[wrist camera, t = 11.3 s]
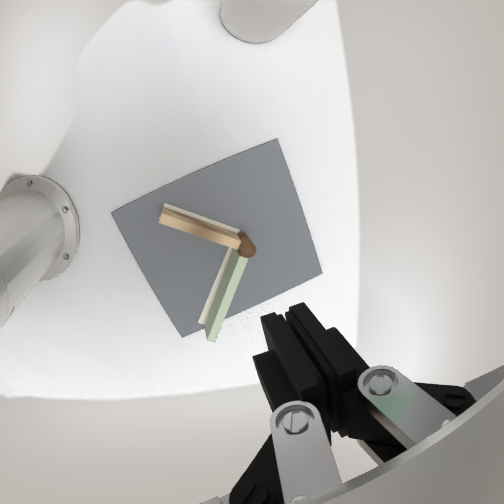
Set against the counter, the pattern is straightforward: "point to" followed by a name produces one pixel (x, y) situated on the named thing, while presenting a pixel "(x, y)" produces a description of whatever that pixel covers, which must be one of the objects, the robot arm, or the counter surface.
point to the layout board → (228, 217)
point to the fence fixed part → (208, 231)
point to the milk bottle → (261, 17)
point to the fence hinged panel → (225, 294)
